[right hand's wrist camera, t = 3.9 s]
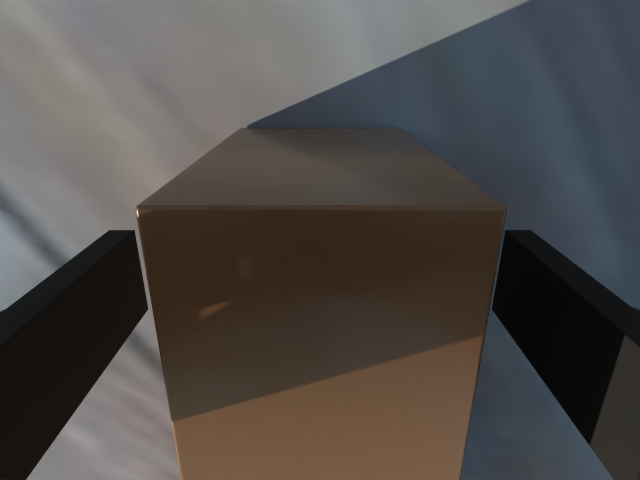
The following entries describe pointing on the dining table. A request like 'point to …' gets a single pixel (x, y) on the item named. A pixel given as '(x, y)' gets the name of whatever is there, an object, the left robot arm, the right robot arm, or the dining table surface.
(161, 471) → the dining table surface
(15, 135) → the dining table surface
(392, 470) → the bar
